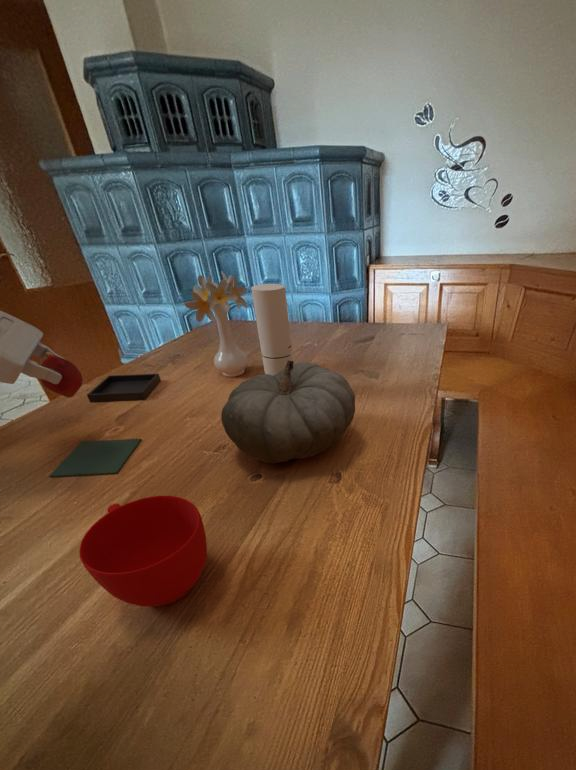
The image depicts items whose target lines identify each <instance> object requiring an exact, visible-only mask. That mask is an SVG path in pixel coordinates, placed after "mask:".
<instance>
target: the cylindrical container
mask: <svg viewBox="0 0 576 770" xmlns="http://www.w3.org/2000/svg"><path fill="white" fill-rule="evenodd" d="M250 290H251V291H250V292H251V297H252V302H253V309H254V314H255V321H256V327H257V333H258V334H257V335H258V340H259V343H260V344H259V347H260V351H261V358H262V364H263V370H264V374H269V375H272V376H273V375H276V374H278V373H279V372H280V371H281V370H283V369H285V367H286V364H287V361H289V360H290V361H294V354H293V344H292V335H291V328H290V319H289V311H288V301H287V300H288V299H287V292H286V285H284V284H281V283H261V284H256V285H253V286H251V287H250ZM293 364H295V362H294V363H293Z"/></svg>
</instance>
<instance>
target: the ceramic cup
mask: <svg viewBox="0 0 576 770" xmlns="http://www.w3.org/2000/svg"><path fill="white" fill-rule="evenodd" d="M206 535H207V534H206V530H205V526H204V521H203V518H202V515H201V514H200V510H199V509H198V507H197V506H196V505H195V504H194V503H193V502H192V501H189V500H188V499H186V498H183V497H180V496H177V495H176V496H174V495H154V496H148V497H143V498H139V499H135V500H132V501H130V502H126V503H125V504H122V505H121V504H120V503H118V502H117V503H112V504H110V505H109V506H108V507H107V513H106V514H105V515H103V516H102V517H100V518H99V519H98V520H97V521H96V522H95V523H94V524H92V525H91V526H90V528H89V529H88V530H87V531H86V532H85V534H84V536H83V537H82V540H81V541H80V546H79V549H78V552H79V559H80V561H81V563H82V565H83V567H84V568H85V570H86V571H87V572H88V574H89V575H90V577H92V578H93V580H94V581H95V582H96V583H97V584H98V585H99V586H100V587H102V588H103V589H104V590H105V591H106V592H107V593H108V594H110V595H111V596H113V597H114V598H116V599H118V600H119V601H122V602H124V603H126V604H130V605H134V606H137V607H138V606H139V607H158V606H166V605H170V604H172V603H175V602H176V601H179V600H180V599H182V598H183V597H185V596H186V595H187V594H188V593H189V592H190V591H191V589H193V587H194V586H195V584H196V583H197V582H198V580H199V578H200V577H201V575H202V572H203V571H204V568H205V565H206V560H207V553H208V544H207V536H206Z"/></svg>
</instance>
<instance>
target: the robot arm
mask: <svg viewBox="0 0 576 770" xmlns="http://www.w3.org/2000/svg"><path fill="white" fill-rule="evenodd" d="M43 336H44V333H43V331H42V330H41V329H38V328H37V327H36V326H34V325H32V324H30V323H28V322H27V321H24V320H22V319H20V318H18V317H15V316H13V315H11V314H9V313H7V312H5V311H3V310H0V383H2V384H8V385H13V384H15V383H16V382H17V380H18V378H19V376H20V375H21V374H23V375H25V376H27V377H30V378H34V379H40V380H41V379H43V380H47V381H49V382H51V383H53V384H59V382H60V380H61V379H62V376H63V374H62V373H61V372H59V371H57V370H55V369H53V368H51V369H48V368H46V367H43V366H41V364H39V363H38V362H36V361H34V360H32V359H30V358H31V357H32V356H34V357H36V358H38V359H43V361H44V360H45V359H46V356H45V353H46V352H49V353H51V354H53V355H55V356H57V357H61V358H64V357H63V356H61V355H59V354H57V352H55V351H54V350H52V349H51V348H50V347H49V346H47V345H45V344H43V343H41V340H42V338H43ZM64 359H66V358H64Z"/></svg>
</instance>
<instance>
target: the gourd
mask: <svg viewBox="0 0 576 770" xmlns="http://www.w3.org/2000/svg"><path fill="white" fill-rule="evenodd" d="M294 361H295V360H293V361H290V360H289V361H287V364H286V367H285V369H283V370H281V371H280V372H279V373H278V374H276V375H273V376H272V375H269V374H265V373H263V374H259V375H254V376H252V377H250V378H248V379H246V380H244V381H242V382H241V383H240V384H239V385H237V386H236V387H235V388H234V389H233V390H232V391H231V392H230V393H229V396H228V399H227V402H225V404H224V406H223V407H222V409H221V414H220V415H221V416H220V420H221V424H222V426H223V429H224V431H225V433H226V435H227V436H228V438H229V439H230V440H231V441H232V442H233V444H235V446H236V448H237V449H238V450H239V451H240V452H242V453H243V454H244V455H246V456H248V457H249V458H252V459H254V460H255V459H256V460H258V461H260V462H263V463H265V464H279V463H286V462H288V461H290V460H296V459H297V460H298V459H307V458H311V457H313V456H316V455H319V454H321V453H322V452H324V451H325V450H328V449H330V448H331V447H333V446H334V445H335V444H337V443H338V442H339V440H340V439H342V436H343V435H344V434H345V432H346V431H347V429H348V427H349V426H350V425H351V424H352V421H354V420H353V419H354V416H355V413H356V396H355V395H356V394H355V392H354V390H353V388H352V387H351V385H350V383H349V382H348V380H347V379H346V378H345V377H344V376H343V375H341V374H340V373H338V372H336V371H332V370H331V369H329V368H327V367H325V366H321V365H319V364H318V363H312V362H308V361H307V362H306V361H303V362H296V363H295V362H294ZM293 363H294V364H293Z"/></svg>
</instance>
